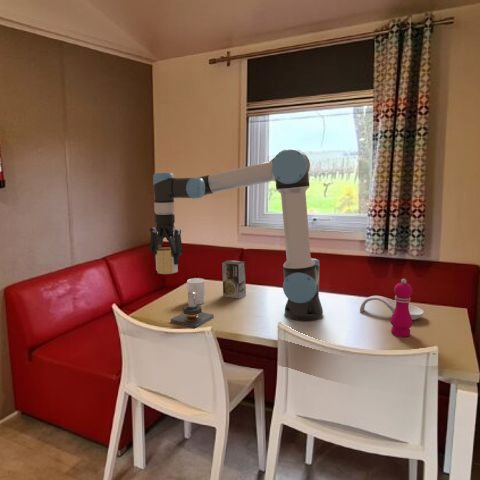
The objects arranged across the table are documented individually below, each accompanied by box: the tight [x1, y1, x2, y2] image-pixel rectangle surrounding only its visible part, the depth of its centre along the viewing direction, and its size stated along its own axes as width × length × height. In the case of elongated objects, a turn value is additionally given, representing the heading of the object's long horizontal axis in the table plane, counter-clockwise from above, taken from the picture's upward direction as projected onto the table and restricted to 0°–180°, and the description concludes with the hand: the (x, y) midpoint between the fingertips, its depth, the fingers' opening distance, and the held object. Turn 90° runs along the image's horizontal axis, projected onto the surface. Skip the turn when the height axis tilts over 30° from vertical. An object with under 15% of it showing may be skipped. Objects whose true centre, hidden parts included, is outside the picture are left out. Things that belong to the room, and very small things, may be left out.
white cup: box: [186, 277, 206, 305], centre depth 177 cm, size 8×8×10 cm
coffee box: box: [221, 259, 247, 300], centre depth 185 cm, size 9×6×16 cm
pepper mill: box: [389, 278, 414, 338], centre depth 140 cm, size 7×7×20 cm
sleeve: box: [157, 246, 176, 275], centre depth 158 cm, size 7×7×9 cm
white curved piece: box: [359, 295, 425, 321], centre depth 159 cm, size 24×12×7 cm, turn 64°
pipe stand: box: [170, 291, 215, 329], centre depth 156 cm, size 12×12×11 cm
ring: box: [182, 304, 202, 315], centre depth 156 cm, size 7×7×2 cm
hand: (166, 271), depth 158 cm, fingers closed on sleeve, 7 cm apart
